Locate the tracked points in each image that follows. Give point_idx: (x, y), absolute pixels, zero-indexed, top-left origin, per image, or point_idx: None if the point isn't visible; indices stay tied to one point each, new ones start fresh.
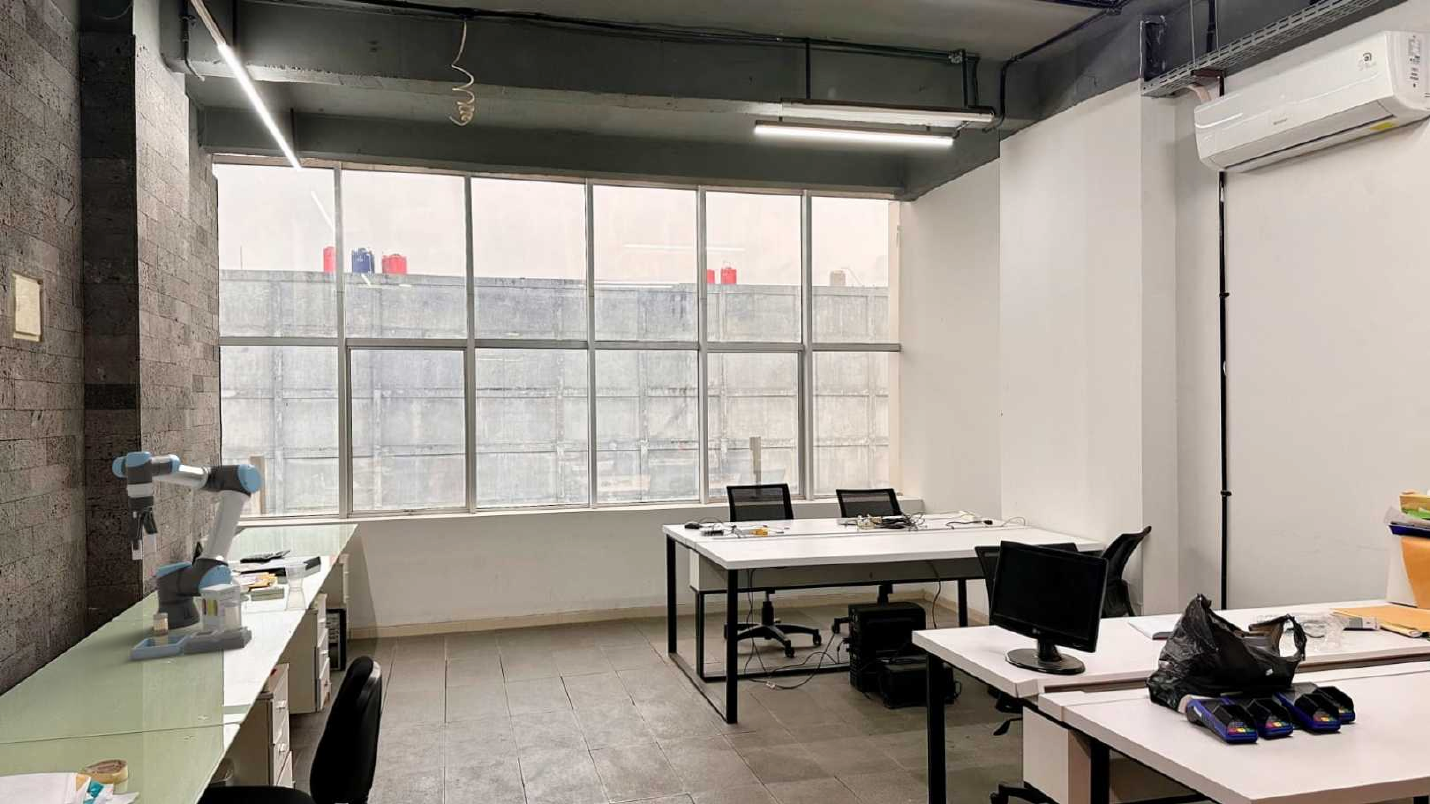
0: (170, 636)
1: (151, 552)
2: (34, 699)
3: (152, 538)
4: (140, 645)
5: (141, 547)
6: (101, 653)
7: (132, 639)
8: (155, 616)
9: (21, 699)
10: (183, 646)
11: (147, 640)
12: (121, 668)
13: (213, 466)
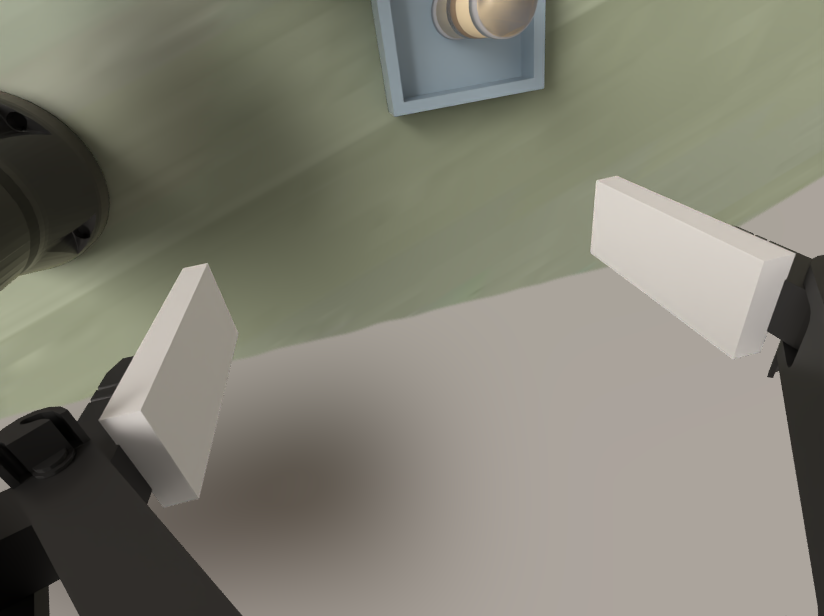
0: (390, 7)
1: (221, 296)
2: (782, 166)
3: (176, 382)
4: (482, 87)
5: (688, 217)
6: (407, 243)
7: (251, 238)
8: (533, 11)
9: (760, 200)
10: None
11: (410, 100)
12: (615, 67)
13: None
